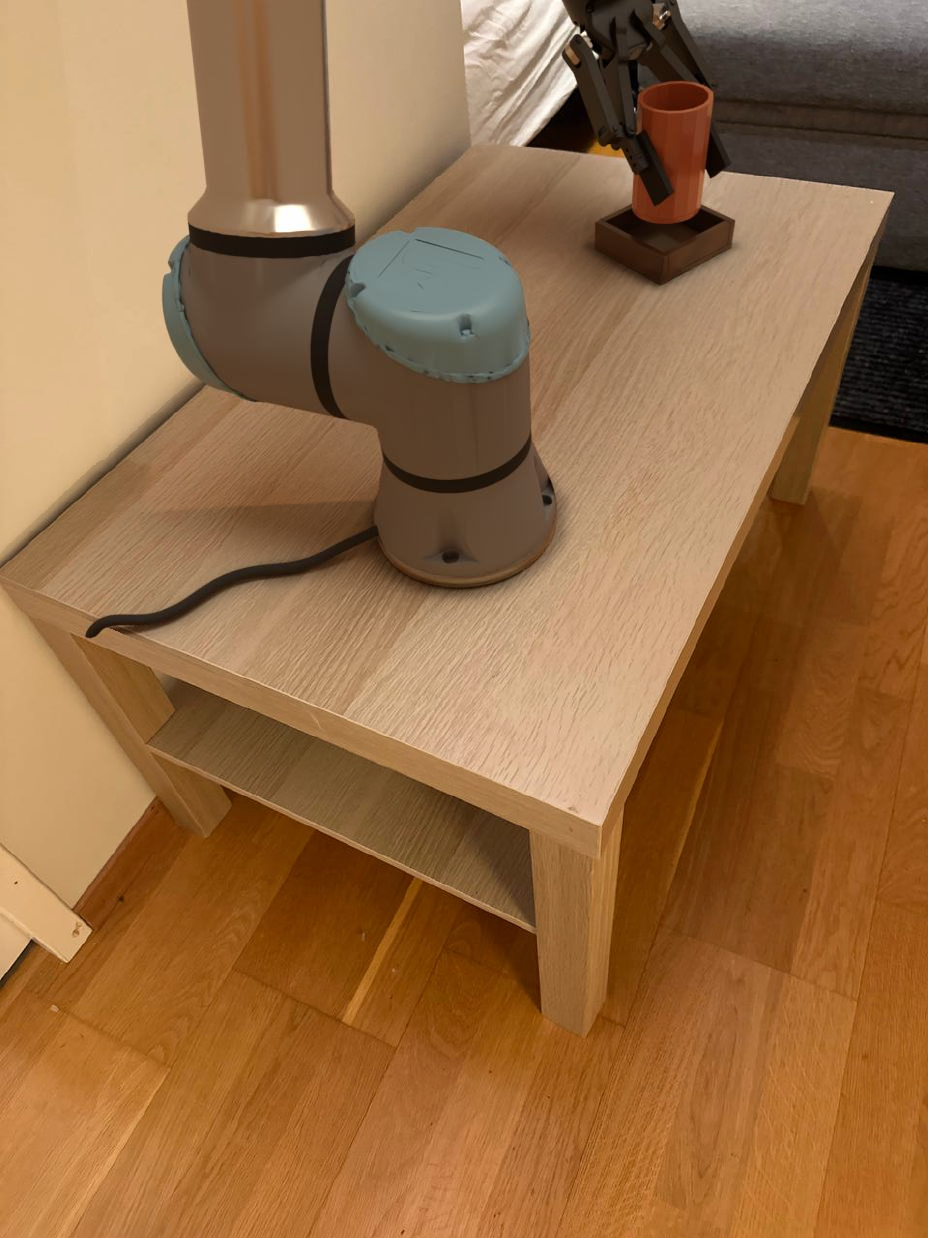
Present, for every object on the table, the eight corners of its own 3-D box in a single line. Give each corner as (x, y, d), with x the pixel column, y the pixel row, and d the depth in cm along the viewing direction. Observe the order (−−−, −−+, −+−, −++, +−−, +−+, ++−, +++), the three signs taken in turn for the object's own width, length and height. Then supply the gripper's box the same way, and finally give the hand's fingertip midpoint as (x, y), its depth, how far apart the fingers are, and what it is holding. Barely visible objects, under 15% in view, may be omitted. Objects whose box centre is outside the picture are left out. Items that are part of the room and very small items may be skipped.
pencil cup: (665, 231, 93) (674, 119, 84) (617, 207, 97) (622, 98, 88) (714, 205, 95) (729, 94, 86) (666, 183, 99) (675, 74, 90)
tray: (661, 284, 95) (663, 257, 92) (594, 247, 101) (594, 221, 98) (731, 247, 98) (735, 219, 96) (663, 213, 104) (665, 186, 101)
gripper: (645, -39, 94) (739, 167, 98) (493, 19, 88) (600, 237, 92) (687, -93, 87) (786, 132, 91) (525, -34, 81) (639, 204, 85)
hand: (692, 184), depth 91 cm, fingers closed on pencil cup, 7 cm apart
